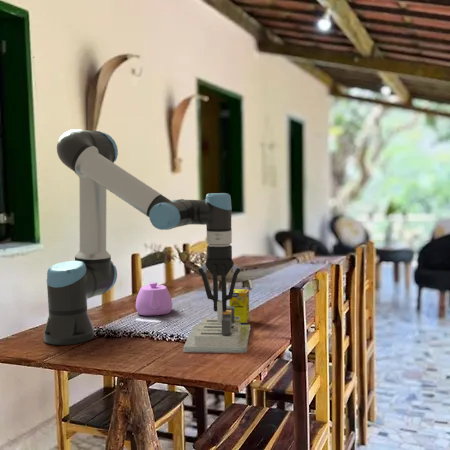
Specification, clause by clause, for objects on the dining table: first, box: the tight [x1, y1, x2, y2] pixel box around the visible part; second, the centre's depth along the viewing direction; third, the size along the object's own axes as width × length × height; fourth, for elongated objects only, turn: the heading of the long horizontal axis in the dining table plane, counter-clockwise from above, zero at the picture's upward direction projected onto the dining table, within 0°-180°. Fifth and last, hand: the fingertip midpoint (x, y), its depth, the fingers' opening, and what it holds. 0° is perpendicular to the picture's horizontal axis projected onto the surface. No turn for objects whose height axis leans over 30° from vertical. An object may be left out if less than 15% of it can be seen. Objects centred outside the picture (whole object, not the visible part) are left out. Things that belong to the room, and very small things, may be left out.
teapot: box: [135, 282, 173, 316], centre depth 208 cm, size 13×20×11 cm
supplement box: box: [229, 288, 250, 325], centre depth 193 cm, size 6×6×11 cm
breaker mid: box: [223, 310, 232, 325], centre depth 174 cm, size 2×3×4 cm
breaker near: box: [222, 318, 231, 334], centre depth 167 cm, size 2×3×4 cm
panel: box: [182, 318, 251, 354], centre depth 174 cm, size 18×24×4 cm
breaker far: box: [226, 305, 235, 321], centre depth 180 cm, size 2×3×4 cm
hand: (220, 321), depth 174 cm, fingers closed
